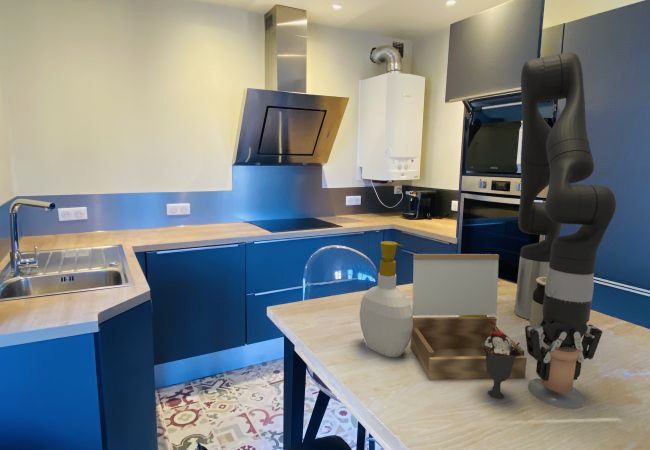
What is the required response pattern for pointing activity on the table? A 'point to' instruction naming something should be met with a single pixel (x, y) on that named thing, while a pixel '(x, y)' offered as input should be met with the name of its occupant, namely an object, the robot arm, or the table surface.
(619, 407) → the table surface
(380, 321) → the soap bottle
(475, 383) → the table surface
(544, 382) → the clay pot
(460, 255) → the frame lid
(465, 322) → the box
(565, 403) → the slate saucer
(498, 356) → the sundae
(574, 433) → the table surface
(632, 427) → the table surface
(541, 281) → the travel mug
